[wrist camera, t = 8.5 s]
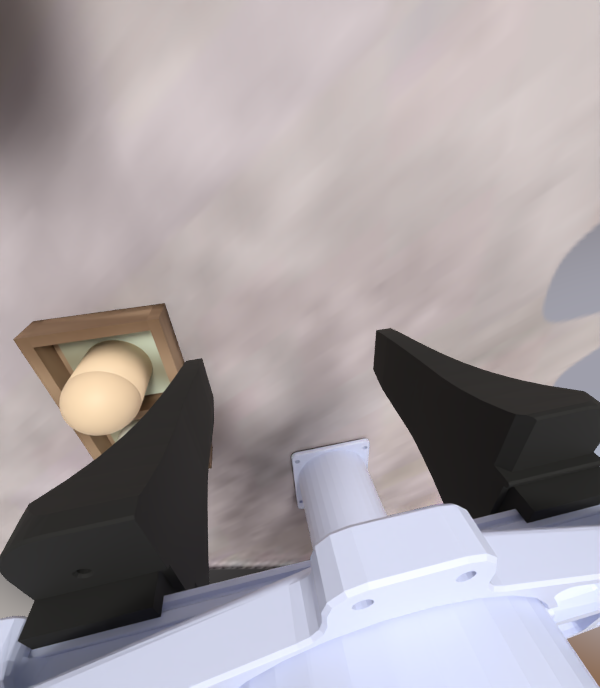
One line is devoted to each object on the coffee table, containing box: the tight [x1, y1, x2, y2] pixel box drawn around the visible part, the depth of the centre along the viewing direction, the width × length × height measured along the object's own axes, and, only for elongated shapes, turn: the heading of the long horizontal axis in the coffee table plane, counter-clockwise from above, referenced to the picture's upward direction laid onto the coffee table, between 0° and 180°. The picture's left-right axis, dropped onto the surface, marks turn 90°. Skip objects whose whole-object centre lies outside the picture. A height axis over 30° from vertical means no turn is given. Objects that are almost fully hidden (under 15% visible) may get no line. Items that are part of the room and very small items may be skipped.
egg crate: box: [13, 303, 213, 469], centre depth 23 cm, size 14×8×2 cm, turn 3°
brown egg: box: [59, 340, 153, 436], centre depth 19 cm, size 4×4×6 cm
